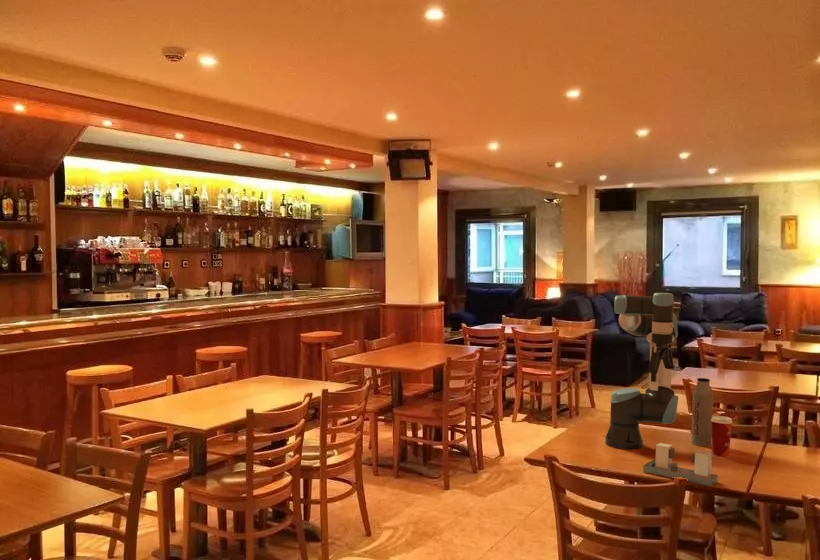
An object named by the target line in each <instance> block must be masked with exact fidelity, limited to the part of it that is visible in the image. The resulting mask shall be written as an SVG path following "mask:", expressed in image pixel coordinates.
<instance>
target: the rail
mask: <svg viewBox="0 0 820 560" xmlns="http://www.w3.org/2000/svg"><path fill="white" fill-rule="evenodd" d="M691 455H692V456H691V457H692V460H691V463H692V464H694V469H690V468H686V467H680V466H679V465H678V462H676V461H674V462H672V464H671V465H669V466H668V469H664V468H659V467H655V465H656V458H654V459H653V460H651V461H648V462H647V463H645V464H644V465H643V470H642V471H643V473H646V474H650V475H655V476H659V477H663V476H664V478H668V477H669V479H673V478H672V477H682V478H687V479H688V482H687V483H692V484H697V485H701V486H705V487H709V488H711V487H713V486H715V484H717V483H718V478H719V477H718V476H719V475H718V474H713V473H712V463H713V461H712V459H713V452H712V451H711V452H710V451H705V450H700V449H698V450H696V451H695V452H694V453H693V454H691Z"/></svg>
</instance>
